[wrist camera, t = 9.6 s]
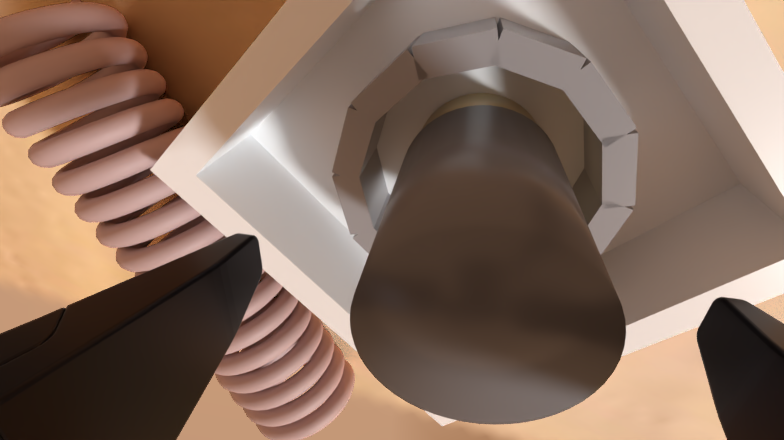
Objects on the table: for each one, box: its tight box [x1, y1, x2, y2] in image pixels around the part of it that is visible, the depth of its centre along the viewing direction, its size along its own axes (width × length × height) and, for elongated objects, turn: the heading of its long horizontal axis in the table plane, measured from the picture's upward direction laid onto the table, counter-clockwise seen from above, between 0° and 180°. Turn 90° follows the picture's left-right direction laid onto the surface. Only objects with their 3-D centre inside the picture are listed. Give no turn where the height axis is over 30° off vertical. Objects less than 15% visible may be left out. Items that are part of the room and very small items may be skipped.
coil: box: [0, 0, 355, 440], centre depth 16 cm, size 5×5×18 cm
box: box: [150, 0, 784, 426], centre depth 13 cm, size 13×13×4 cm
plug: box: [350, 93, 626, 424], centre depth 11 cm, size 4×4×8 cm
